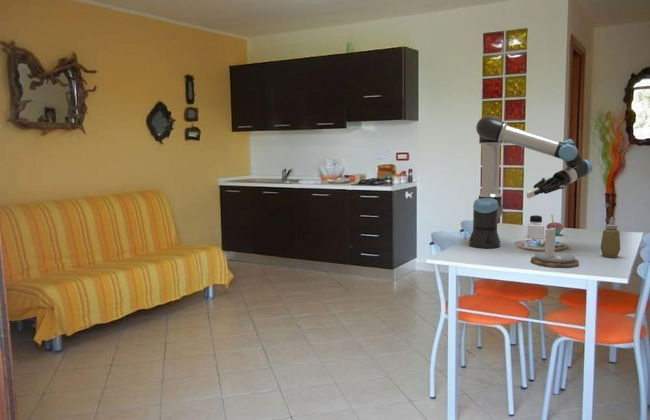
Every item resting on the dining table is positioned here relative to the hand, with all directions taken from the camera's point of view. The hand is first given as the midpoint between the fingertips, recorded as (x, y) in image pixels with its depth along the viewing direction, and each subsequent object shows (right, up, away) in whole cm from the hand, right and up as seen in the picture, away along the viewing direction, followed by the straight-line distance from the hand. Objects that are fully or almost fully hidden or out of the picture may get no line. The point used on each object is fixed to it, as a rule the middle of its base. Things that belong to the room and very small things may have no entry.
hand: (527, 195), depth 258 cm
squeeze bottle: (+35, -28, -6) cm, 45 cm away
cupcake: (+34, -21, +52) cm, 66 cm away
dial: (+4, -28, -19) cm, 34 cm away
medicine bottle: (+20, -22, +44) cm, 53 cm away
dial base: (+4, -30, -19) cm, 35 cm away
